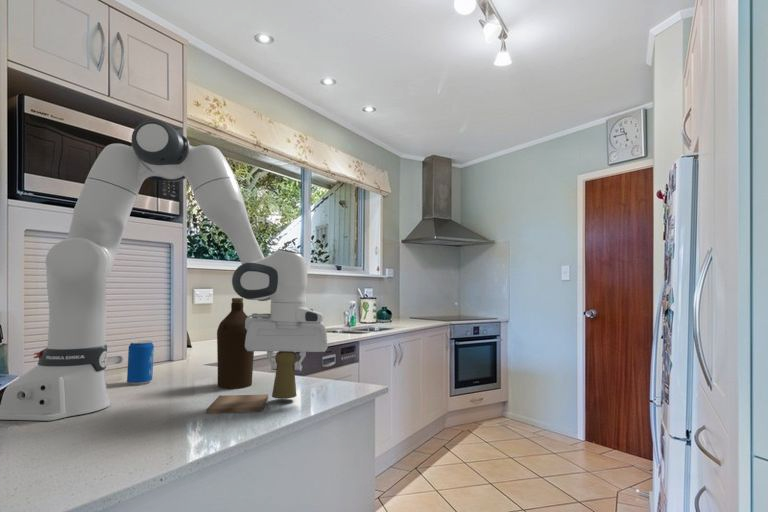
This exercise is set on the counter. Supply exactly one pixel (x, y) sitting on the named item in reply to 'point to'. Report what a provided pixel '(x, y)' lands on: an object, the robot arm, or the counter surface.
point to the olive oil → (234, 349)
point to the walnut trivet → (238, 403)
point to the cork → (285, 376)
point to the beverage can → (140, 362)
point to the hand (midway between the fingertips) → (285, 369)
